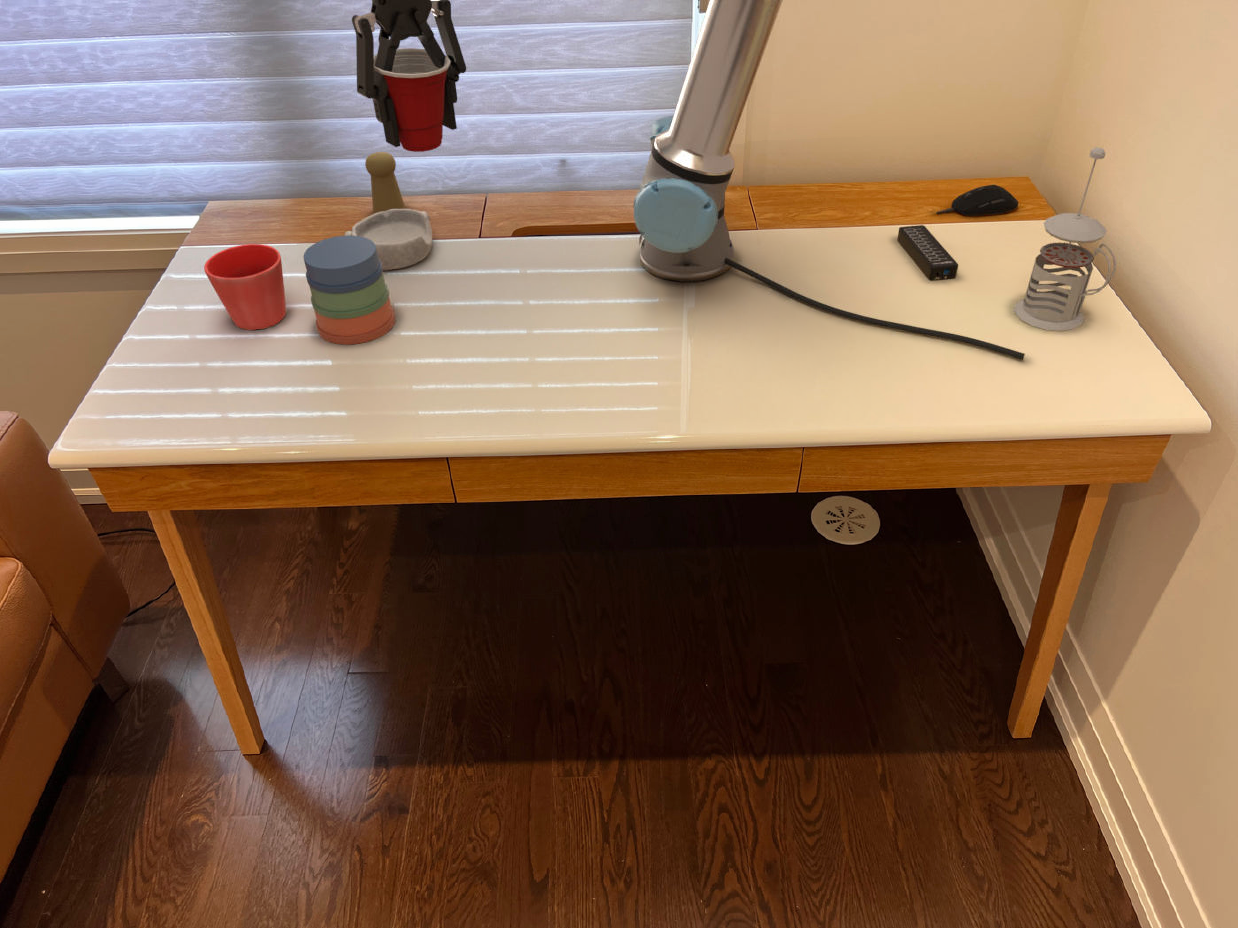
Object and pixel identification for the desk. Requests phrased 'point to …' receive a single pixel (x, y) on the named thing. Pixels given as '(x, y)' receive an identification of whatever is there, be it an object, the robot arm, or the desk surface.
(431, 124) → the plastic cup
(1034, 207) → the desk surface
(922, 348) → the desk surface
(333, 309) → the cup stack
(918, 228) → the multiport hub
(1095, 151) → the french press
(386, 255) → the dish
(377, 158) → the wooden peg doll
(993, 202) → the gaming mouse
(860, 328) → the desk surface
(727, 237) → the robot arm
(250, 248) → the flower pot
